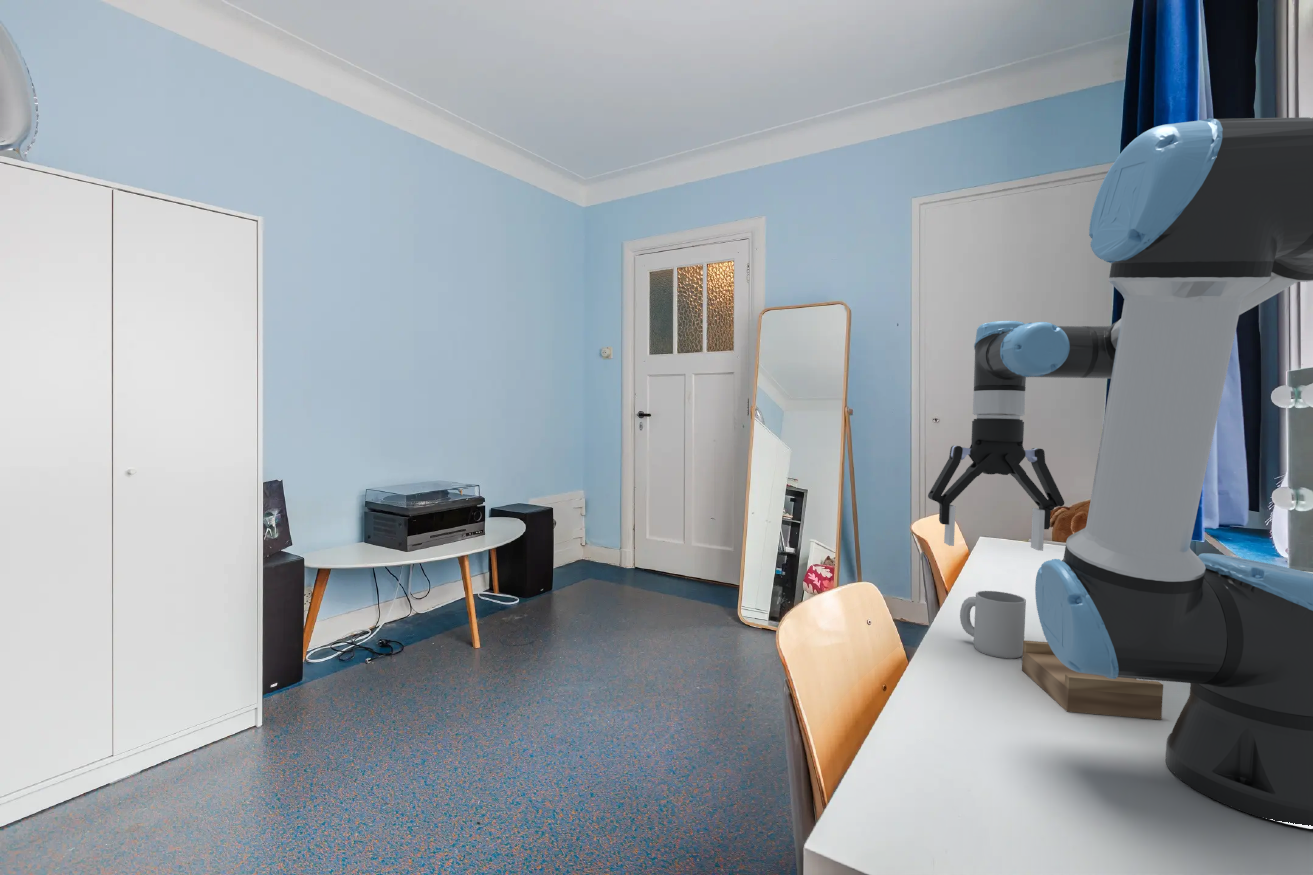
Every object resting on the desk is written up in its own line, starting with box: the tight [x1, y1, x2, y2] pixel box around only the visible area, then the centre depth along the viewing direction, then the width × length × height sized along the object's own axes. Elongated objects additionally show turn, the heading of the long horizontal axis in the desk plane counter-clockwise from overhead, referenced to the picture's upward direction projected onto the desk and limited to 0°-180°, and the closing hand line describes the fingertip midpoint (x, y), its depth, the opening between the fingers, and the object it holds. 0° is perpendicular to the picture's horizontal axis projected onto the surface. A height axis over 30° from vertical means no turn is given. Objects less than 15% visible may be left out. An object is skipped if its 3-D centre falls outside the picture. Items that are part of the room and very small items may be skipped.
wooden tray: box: [1021, 639, 1164, 721], centre depth 89 cm, size 14×11×4 cm
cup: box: [959, 590, 1027, 660], centre depth 106 cm, size 7×10×9 cm
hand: (992, 546), depth 106 cm, fingers open, 13 cm apart
